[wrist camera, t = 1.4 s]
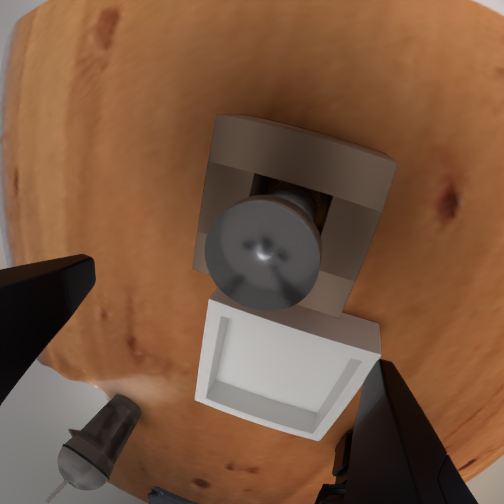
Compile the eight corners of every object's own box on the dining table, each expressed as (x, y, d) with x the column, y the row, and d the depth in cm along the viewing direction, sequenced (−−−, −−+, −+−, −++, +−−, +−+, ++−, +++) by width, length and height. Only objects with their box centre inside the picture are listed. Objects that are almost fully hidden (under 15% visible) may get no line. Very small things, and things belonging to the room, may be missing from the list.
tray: (379, 323, 21) (381, 354, 18) (324, 413, 27) (319, 441, 24) (227, 274, 23) (208, 298, 20) (208, 374, 29) (194, 399, 26)
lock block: (385, 153, 17) (397, 163, 13) (341, 280, 21) (339, 318, 17) (244, 114, 18) (216, 114, 14) (220, 240, 22) (192, 269, 18)
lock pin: (339, 177, 18) (335, 224, 10) (320, 240, 20) (299, 325, 12) (271, 157, 19) (213, 188, 11) (257, 220, 21) (198, 289, 13)
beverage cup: (155, 427, 38) (88, 531, 20) (117, 412, 40) (49, 503, 22) (140, 396, 35) (57, 511, 18) (100, 381, 37) (19, 478, 20)
